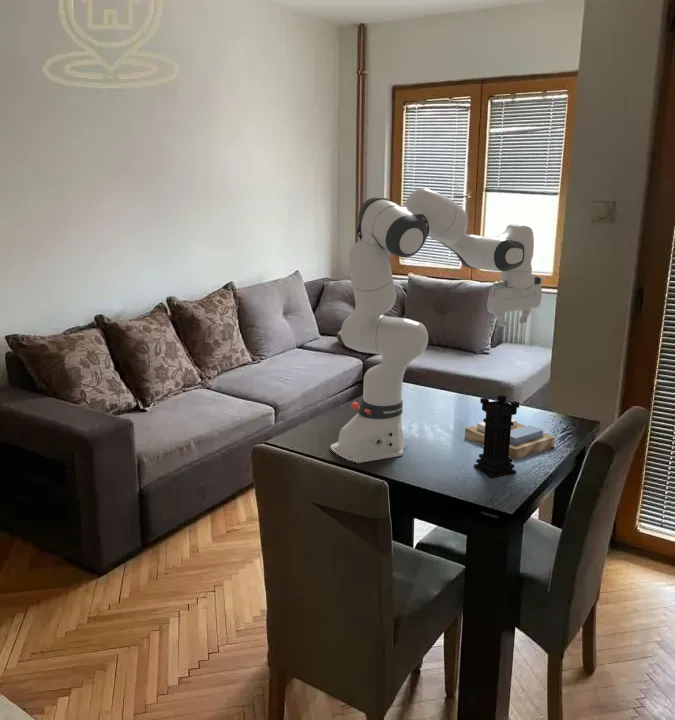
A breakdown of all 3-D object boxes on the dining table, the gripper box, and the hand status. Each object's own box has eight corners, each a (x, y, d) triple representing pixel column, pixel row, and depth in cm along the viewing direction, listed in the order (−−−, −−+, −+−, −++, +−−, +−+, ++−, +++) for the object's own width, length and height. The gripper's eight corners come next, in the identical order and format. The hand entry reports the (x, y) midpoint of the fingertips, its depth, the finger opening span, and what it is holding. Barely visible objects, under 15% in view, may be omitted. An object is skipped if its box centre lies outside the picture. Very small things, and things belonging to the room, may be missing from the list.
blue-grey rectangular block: (514, 448, 195) (515, 438, 194) (501, 442, 199) (502, 433, 198) (542, 439, 202) (543, 430, 201) (529, 434, 206) (529, 425, 205)
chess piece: (491, 478, 180) (496, 407, 175) (473, 467, 187) (478, 398, 182) (515, 473, 183) (521, 403, 178) (497, 462, 190) (502, 394, 185)
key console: (515, 459, 192) (516, 449, 192) (464, 437, 208) (465, 428, 207) (554, 446, 202) (555, 437, 201) (502, 426, 218) (503, 417, 217)
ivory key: (489, 437, 203) (489, 428, 202) (476, 432, 207) (477, 423, 206) (516, 429, 210) (517, 420, 209) (503, 424, 214) (504, 415, 213)
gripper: (499, 283, 195) (496, 330, 199) (546, 278, 206) (542, 322, 210) (483, 281, 200) (480, 326, 204) (530, 275, 211) (526, 319, 215)
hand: (512, 324), depth 207 cm, fingers open, 8 cm apart
